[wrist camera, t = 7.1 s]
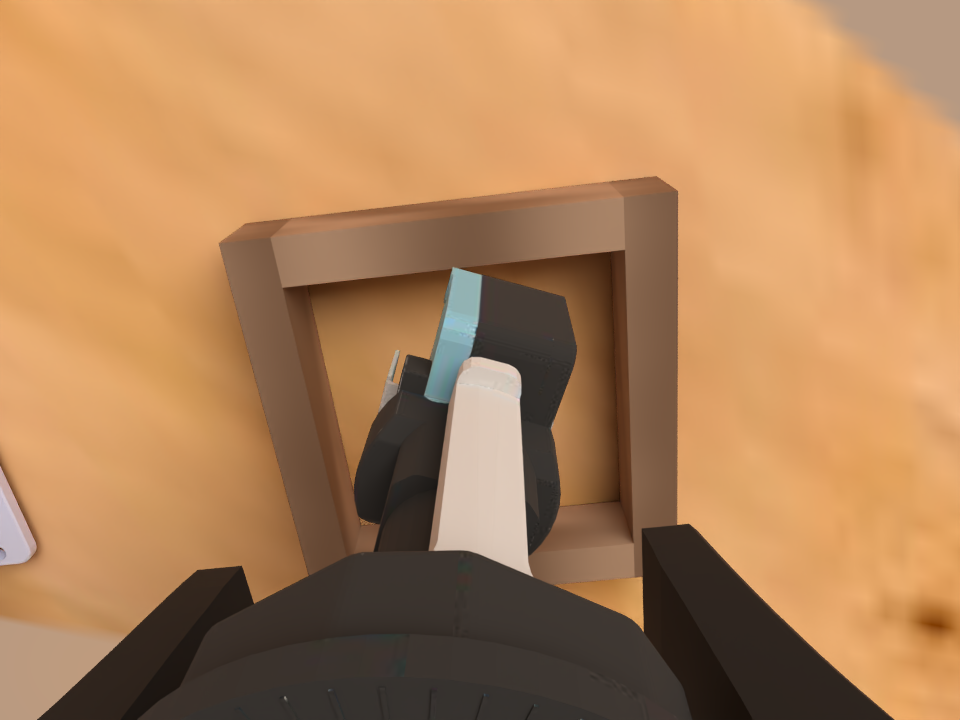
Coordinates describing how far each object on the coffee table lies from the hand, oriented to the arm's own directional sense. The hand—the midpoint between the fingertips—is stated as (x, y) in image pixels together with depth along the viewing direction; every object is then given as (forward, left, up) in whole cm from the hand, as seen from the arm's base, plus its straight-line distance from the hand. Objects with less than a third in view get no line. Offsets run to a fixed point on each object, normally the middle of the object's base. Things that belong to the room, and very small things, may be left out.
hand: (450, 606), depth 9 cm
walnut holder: (0, -2, -10) cm, 11 cm away
